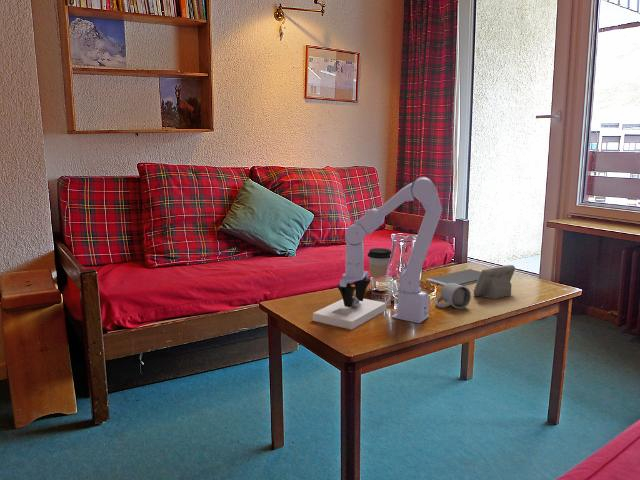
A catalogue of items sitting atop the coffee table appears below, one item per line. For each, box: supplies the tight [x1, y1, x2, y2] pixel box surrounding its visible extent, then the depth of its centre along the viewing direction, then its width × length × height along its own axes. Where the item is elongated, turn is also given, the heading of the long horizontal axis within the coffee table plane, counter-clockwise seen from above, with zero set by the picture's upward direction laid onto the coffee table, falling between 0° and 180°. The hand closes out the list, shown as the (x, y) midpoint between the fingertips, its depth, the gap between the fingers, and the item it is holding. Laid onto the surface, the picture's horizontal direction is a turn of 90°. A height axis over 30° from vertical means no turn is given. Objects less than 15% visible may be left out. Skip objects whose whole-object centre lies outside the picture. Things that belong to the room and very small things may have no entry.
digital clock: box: [473, 264, 516, 300], centre depth 195 cm, size 16×9×11 cm, turn 108°
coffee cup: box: [367, 247, 392, 279], centre depth 200 cm, size 9×9×15 cm
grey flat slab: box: [425, 268, 482, 287], centre depth 216 cm, size 13×27×2 cm, turn 125°
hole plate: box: [312, 298, 387, 330], centre depth 172 cm, size 14×22×2 cm, turn 146°
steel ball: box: [351, 296, 360, 308], centre depth 172 cm, size 4×4×4 cm
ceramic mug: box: [434, 283, 472, 310], centre depth 182 cm, size 11×8×8 cm
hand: (353, 303), depth 174 cm, fingers open, 7 cm apart
